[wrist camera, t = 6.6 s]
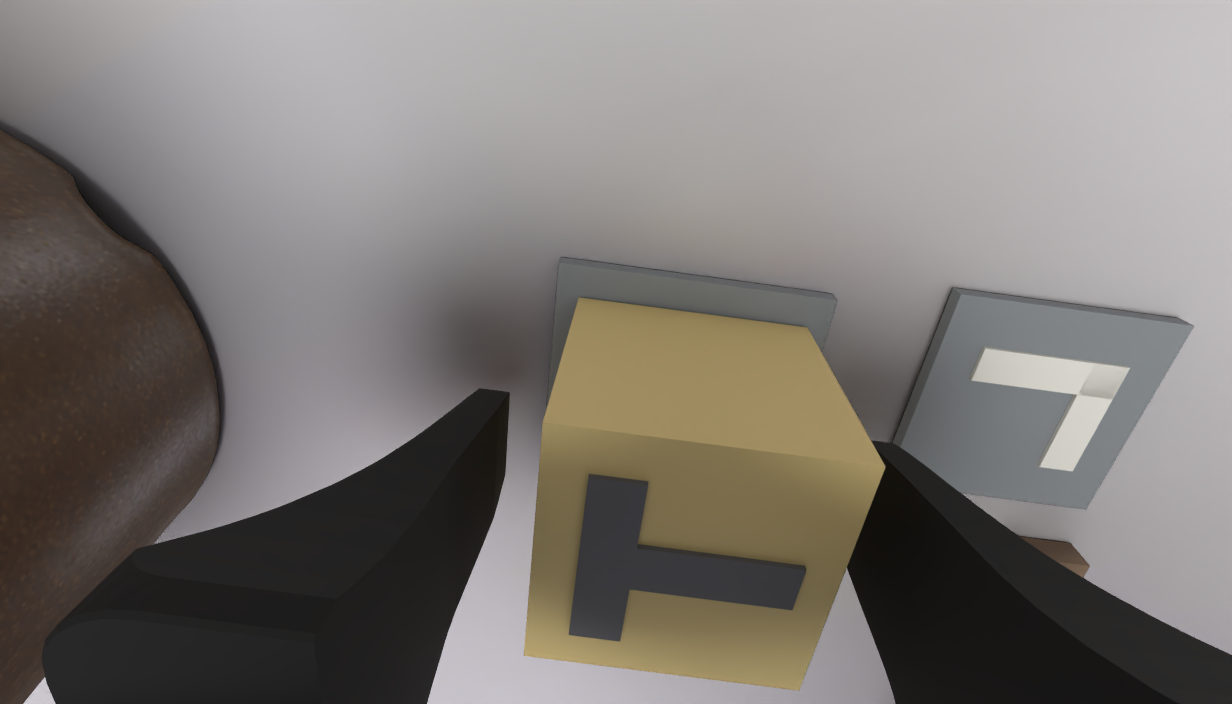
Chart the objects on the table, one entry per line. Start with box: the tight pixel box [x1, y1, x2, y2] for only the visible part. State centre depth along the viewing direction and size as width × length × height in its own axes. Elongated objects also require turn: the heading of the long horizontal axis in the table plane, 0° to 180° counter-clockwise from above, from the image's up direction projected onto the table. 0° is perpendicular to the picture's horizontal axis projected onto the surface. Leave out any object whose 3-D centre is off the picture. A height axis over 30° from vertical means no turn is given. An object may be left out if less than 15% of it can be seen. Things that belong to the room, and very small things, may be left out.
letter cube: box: [524, 297, 885, 691], centre depth 12 cm, size 5×5×5 cm
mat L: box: [893, 288, 1194, 510], centre depth 14 cm, size 5×5×1 cm
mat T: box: [546, 257, 837, 410], centre depth 15 cm, size 6×6×1 cm
